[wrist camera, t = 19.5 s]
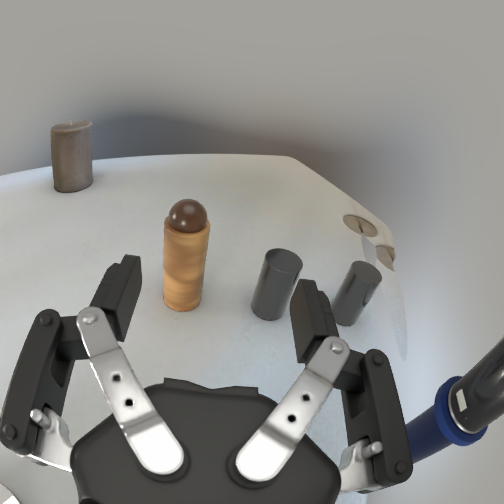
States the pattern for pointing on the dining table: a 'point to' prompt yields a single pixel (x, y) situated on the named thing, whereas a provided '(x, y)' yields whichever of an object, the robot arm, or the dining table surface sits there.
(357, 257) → the dining table surface
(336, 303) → the dark grey upright cylinder
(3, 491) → the wineglass
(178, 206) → the pepper mill
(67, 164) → the pillar candle
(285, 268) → the grey upright cylinder
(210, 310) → the dining table surface
